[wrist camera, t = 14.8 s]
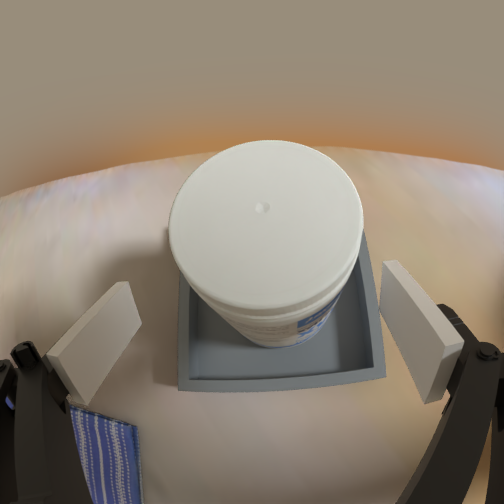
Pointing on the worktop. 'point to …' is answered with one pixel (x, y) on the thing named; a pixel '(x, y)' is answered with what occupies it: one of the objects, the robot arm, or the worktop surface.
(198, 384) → the tray
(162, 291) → the worktop surface
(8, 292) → the worktop surface
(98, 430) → the dish towel
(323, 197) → the supplement tub
